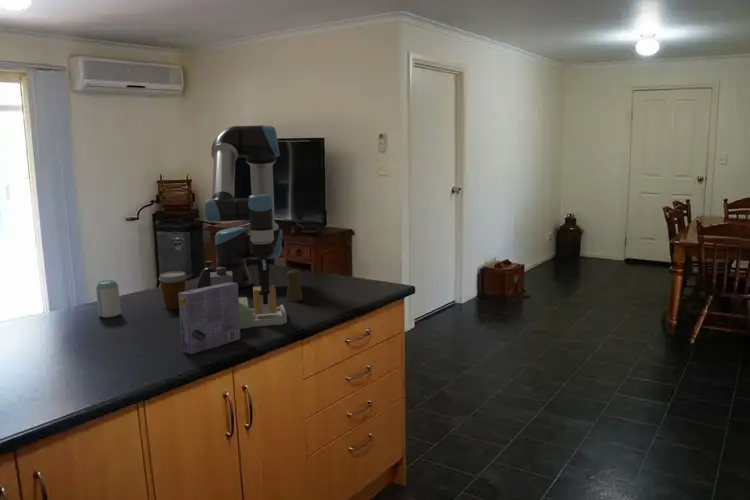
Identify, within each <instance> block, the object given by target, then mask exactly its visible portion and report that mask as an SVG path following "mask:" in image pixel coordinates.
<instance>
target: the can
mask: <svg viewBox="0 0 750 500" xmlns="http://www.w3.org/2000/svg"><path fill="white" fill-rule="evenodd" d="M95 290H96V301H97V302H96V303H97V312H98V313H97V314H98V316H99V317H100V318H102V317H103V319H112V318H111V317H113V318H116V317H119V315H120V314H121V312H122V311H121V310H122V309H121V299H120V290H119V284H118V282H117V280H113V279H106V280H100V281H98V282H97V285H96V287H95Z"/></svg>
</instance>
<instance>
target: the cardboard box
mask: <svg viewBox="0 0 750 500" xmlns="http://www.w3.org/2000/svg"><path fill="white" fill-rule="evenodd" d="M269 291H270V293H269V299H270V313H277V309H276V307H277V292H276V291H277V289H276V287H275V285H269ZM259 293H261V286H259V285H257V286H253V287H252V295H253V296H252V297H253V309H254V312H255V315H257V314H262V311H261V295H259ZM270 313H265V314H270Z"/></svg>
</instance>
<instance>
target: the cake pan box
mask: <svg viewBox="0 0 750 500" xmlns="http://www.w3.org/2000/svg"><path fill="white" fill-rule="evenodd" d="M178 298H179V308H178V309H179V310H178V312H179V324H180V325H179V327H180V340H181V342H180V343H181V351H182V352H183V353H186V354H187V355H190V356H191V355H194V354H197V353H200V352H204V351H208V350H211V349H215V348H219V347H221V346H223V345H226V344H229V343H233V342H235V341H239V340H240V341H241V329H240V319H239V299H238V298H239V289H238V284H237V283H230V282H228V283H224V284H219V285H214V286H209V287H204V288H199V289H197V288H195V289H190V290H185V292H180V293H178Z"/></svg>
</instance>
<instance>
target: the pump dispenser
mask: <svg viewBox="0 0 750 500" xmlns="http://www.w3.org/2000/svg"><path fill="white" fill-rule="evenodd" d="M210 272H216V268H214V267H212V266H207V267H205V268H203V270H202V271H201V272H200V275H199V278H198V281H197V283H196V289H199V288H204V287H209V286H211V282H210Z"/></svg>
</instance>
